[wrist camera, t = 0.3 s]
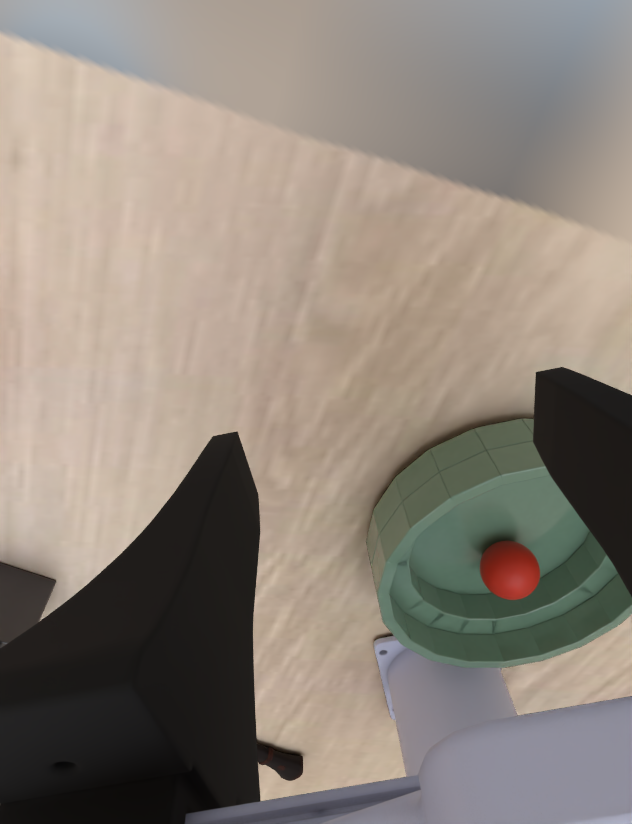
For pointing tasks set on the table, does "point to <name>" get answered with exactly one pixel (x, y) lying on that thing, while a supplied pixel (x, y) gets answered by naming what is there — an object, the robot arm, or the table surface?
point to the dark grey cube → (21, 601)
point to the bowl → (467, 541)
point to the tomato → (509, 570)
